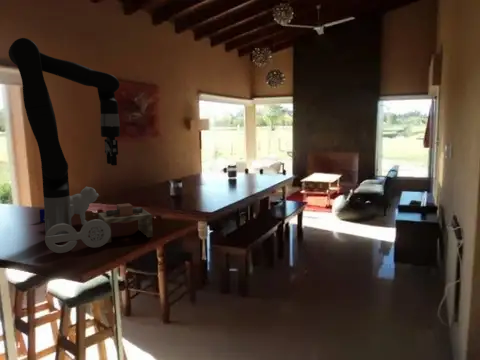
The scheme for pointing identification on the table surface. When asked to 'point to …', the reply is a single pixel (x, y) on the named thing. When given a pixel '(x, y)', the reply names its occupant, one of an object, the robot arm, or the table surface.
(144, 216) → the shelf
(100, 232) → the gray double disc plate
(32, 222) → the table surface
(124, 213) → the tan block
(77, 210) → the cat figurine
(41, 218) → the cable clip
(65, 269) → the table surface
